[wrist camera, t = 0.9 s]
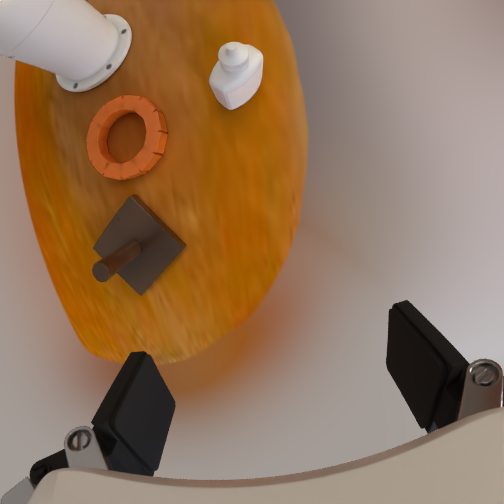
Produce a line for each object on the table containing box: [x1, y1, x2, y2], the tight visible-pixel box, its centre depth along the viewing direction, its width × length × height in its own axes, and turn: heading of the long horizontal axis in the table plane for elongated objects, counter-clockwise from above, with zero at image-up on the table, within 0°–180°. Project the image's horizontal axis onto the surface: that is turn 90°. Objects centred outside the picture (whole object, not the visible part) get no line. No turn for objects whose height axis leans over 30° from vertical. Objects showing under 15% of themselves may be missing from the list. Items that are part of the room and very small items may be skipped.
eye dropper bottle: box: [209, 42, 263, 110], centre depth 22 cm, size 4×6×12 cm
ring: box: [86, 95, 168, 180], centre depth 28 cm, size 10×10×2 cm
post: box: [92, 195, 186, 295], centre depth 28 cm, size 9×9×10 cm
